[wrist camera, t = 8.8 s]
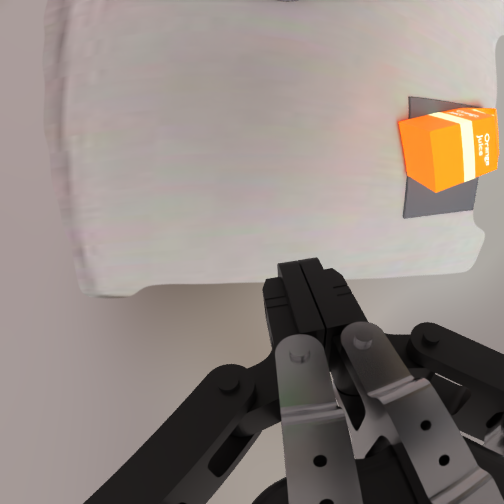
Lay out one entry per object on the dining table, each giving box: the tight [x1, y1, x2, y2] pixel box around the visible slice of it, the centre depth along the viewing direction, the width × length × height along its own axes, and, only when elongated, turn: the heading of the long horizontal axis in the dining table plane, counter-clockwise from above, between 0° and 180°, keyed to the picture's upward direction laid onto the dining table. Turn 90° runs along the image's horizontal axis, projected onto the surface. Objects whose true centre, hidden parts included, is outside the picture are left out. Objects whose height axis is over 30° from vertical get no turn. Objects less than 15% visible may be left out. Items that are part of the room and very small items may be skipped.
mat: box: [403, 97, 479, 219], centre depth 39 cm, size 20×18×1 cm
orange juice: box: [399, 108, 499, 193], centre depth 33 cm, size 8×9×20 cm
